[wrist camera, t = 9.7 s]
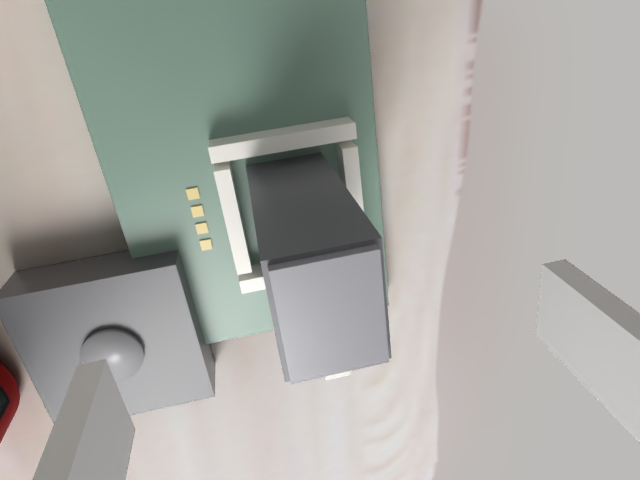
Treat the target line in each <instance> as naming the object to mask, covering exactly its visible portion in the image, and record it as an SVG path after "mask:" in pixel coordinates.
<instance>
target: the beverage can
mask: <svg viewBox="0 0 640 480" xmlns="http://www.w3.org/2000/svg"><path fill="white" fill-rule="evenodd" d="M19 400H20V394H19V388H18V385H17V383H16V381H15V379H14V377H13V376H12V374H11V373H10V372H9V371H8V370H7V369H6V368H5V367H4V366H3V365H2V364H1V363H0V443H1V441H2V439H3V437H4V435H5V433H6V431H7V429H8V427H9V425H10V423H11V421H12V419H13V417H14V415H15V413H16V411H17V408H18V405H19Z"/></svg>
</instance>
